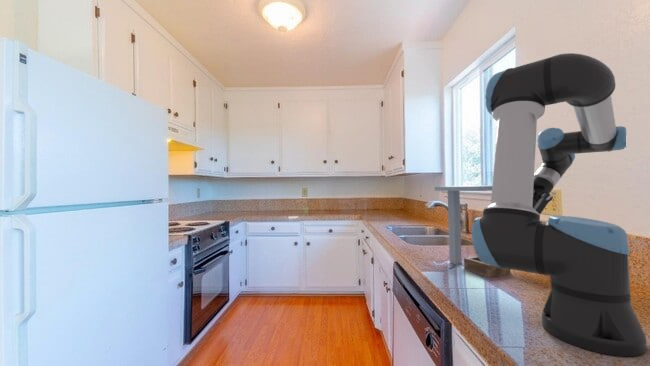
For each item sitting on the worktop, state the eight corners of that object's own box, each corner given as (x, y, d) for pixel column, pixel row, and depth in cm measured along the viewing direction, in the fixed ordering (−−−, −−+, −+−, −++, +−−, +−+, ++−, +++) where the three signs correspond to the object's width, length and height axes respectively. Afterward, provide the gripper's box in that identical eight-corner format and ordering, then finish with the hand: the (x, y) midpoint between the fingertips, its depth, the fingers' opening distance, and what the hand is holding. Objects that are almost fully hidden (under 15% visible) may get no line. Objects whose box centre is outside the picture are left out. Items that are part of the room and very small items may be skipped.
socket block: (490, 277, 91) (489, 265, 91) (464, 269, 100) (464, 258, 100) (510, 273, 95) (510, 261, 95) (483, 265, 104) (483, 255, 104)
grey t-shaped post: (481, 279, 90) (478, 186, 90) (437, 264, 107) (434, 186, 107) (506, 274, 94) (503, 185, 94) (460, 260, 112) (457, 186, 112)
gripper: (575, 189, 95) (538, 240, 91) (525, 189, 113) (492, 232, 109) (562, 174, 94) (524, 225, 90) (514, 176, 112) (481, 219, 108)
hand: (507, 229), depth 100 cm, fingers closed on supplement bottle, 5 cm apart
